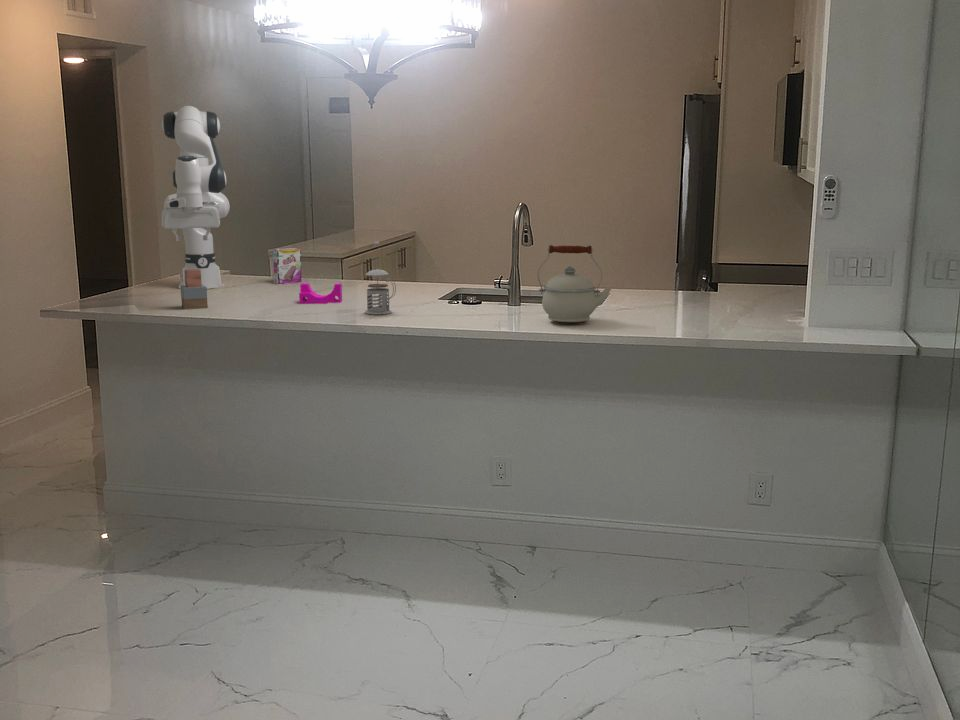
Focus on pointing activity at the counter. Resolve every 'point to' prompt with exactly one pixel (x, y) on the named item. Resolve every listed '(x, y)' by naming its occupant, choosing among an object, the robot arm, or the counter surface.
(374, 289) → the french press
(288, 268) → the candy bar box
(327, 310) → the counter surface
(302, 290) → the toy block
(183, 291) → the tower middle
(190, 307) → the tower base
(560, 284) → the kettle
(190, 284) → the reddish brown cube
